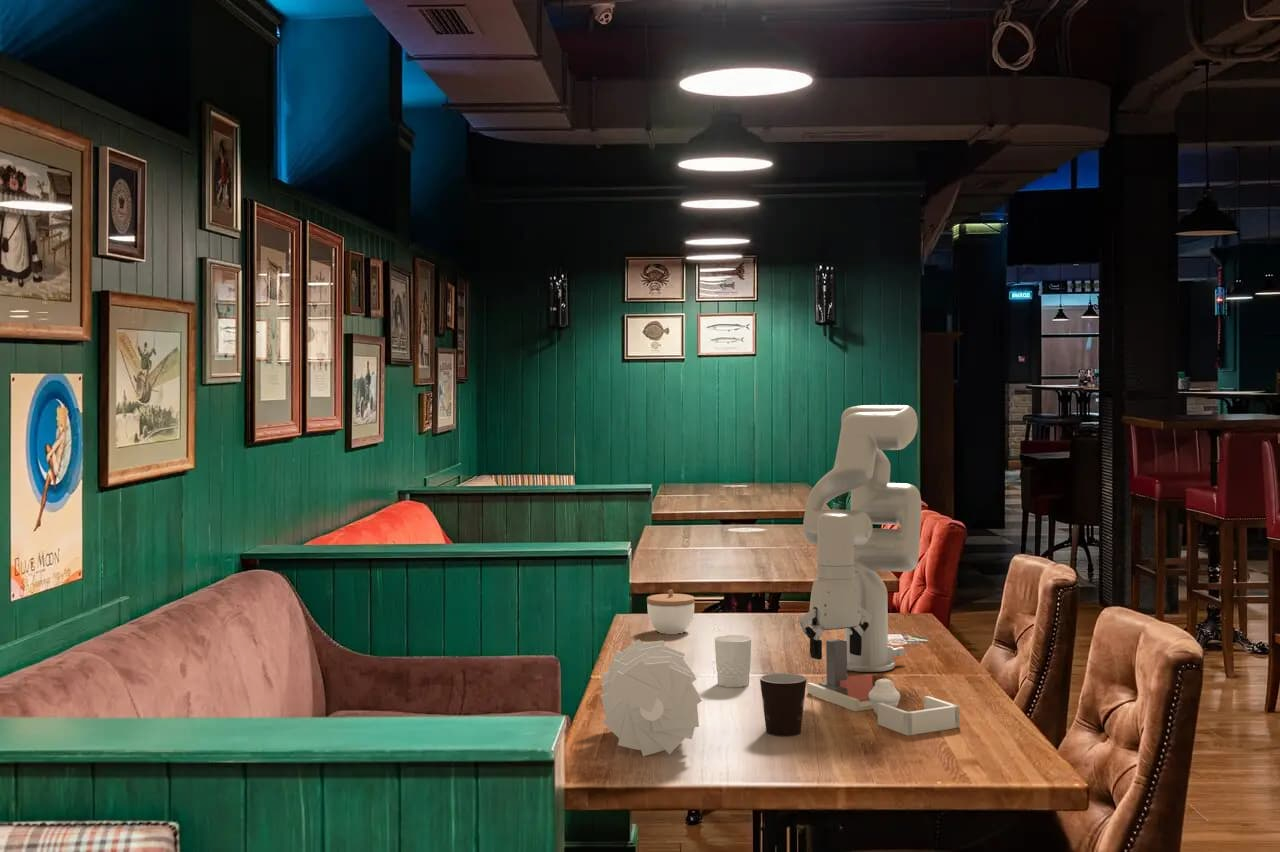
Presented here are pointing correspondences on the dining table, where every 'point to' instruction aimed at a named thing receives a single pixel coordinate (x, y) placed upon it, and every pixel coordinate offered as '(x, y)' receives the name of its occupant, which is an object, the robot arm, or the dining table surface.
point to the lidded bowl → (670, 612)
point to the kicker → (844, 673)
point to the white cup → (733, 660)
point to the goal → (920, 717)
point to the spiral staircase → (650, 697)
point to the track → (839, 698)
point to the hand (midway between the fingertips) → (835, 656)
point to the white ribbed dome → (883, 694)
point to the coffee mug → (783, 702)
